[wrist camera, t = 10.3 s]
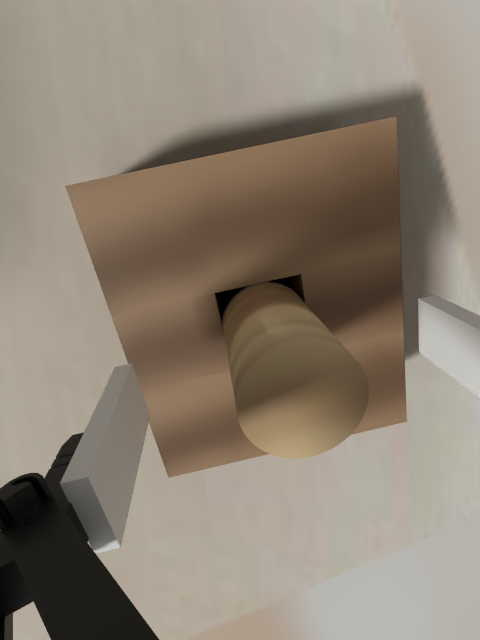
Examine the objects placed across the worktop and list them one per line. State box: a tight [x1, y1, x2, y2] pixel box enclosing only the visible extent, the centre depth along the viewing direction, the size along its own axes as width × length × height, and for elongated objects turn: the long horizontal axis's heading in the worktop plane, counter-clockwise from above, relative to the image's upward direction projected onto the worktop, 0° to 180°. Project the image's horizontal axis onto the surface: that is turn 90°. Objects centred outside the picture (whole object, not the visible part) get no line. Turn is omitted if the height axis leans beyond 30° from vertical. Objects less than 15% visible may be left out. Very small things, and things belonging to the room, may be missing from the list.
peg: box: [222, 281, 369, 458], centre depth 19 cm, size 5×5×14 cm
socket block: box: [66, 116, 407, 477], centre depth 23 cm, size 18×16×6 cm
